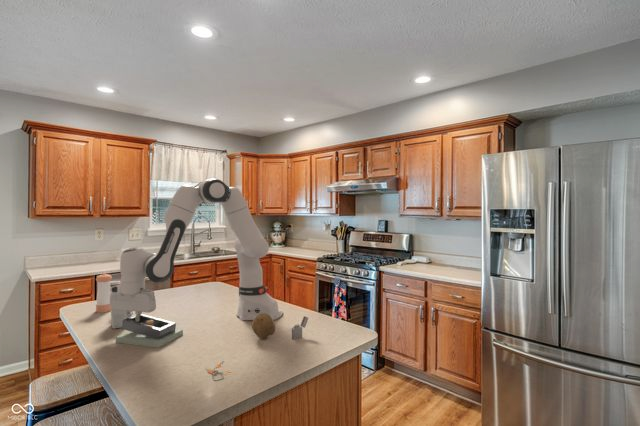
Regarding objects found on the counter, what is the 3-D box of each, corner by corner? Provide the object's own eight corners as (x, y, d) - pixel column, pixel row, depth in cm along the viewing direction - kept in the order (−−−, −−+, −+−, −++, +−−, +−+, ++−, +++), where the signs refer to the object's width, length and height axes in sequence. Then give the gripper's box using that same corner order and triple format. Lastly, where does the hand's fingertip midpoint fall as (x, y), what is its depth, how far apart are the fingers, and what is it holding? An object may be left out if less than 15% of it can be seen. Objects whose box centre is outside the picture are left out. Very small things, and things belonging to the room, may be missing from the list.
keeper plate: (182, 334, 143) (182, 317, 143) (158, 347, 130) (158, 329, 129) (143, 329, 148) (142, 313, 148) (115, 342, 135) (115, 324, 135)
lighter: (293, 339, 137) (293, 319, 137) (291, 338, 138) (291, 318, 138) (308, 335, 141) (308, 316, 141) (306, 334, 142) (306, 315, 142)
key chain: (234, 377, 107) (234, 374, 107) (210, 383, 104) (210, 380, 104) (225, 361, 118) (225, 359, 118) (203, 366, 115) (203, 363, 115)
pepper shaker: (107, 312, 173) (106, 274, 173) (92, 312, 173) (92, 274, 173) (115, 308, 181) (115, 271, 180) (102, 308, 181) (101, 271, 180)
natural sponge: (249, 336, 141) (249, 311, 141) (270, 332, 144) (270, 309, 144) (254, 344, 133) (254, 318, 132) (277, 340, 136) (276, 315, 136)
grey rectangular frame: (175, 331, 141) (176, 322, 141) (159, 339, 132) (160, 330, 132) (139, 321, 146) (140, 313, 146) (121, 328, 137) (122, 320, 137)
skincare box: (127, 326, 153) (127, 293, 152) (111, 329, 149) (111, 295, 149) (126, 321, 160) (125, 289, 159) (110, 323, 156) (110, 291, 156)
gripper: (159, 287, 141) (159, 320, 141) (119, 284, 147) (119, 316, 147) (147, 290, 135) (148, 326, 135) (106, 287, 141) (107, 321, 141)
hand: (133, 321), depth 141 cm, fingers closed on grey rectangular frame, 2 cm apart
